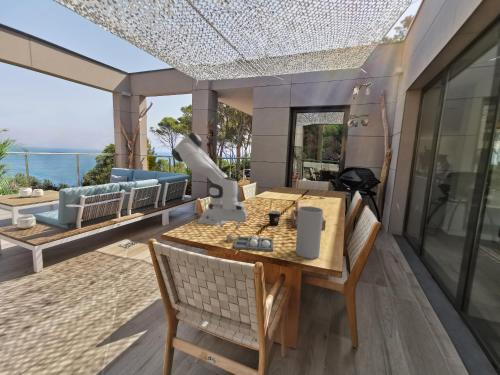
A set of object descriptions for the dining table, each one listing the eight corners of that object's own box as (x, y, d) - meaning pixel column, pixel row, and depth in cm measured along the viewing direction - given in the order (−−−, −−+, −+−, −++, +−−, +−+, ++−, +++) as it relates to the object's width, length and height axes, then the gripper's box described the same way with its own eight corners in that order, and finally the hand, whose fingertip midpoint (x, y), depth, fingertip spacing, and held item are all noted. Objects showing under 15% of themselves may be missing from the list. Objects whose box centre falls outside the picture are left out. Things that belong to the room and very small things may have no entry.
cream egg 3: (261, 249, 123) (261, 241, 123) (261, 245, 128) (262, 238, 127) (269, 249, 123) (270, 242, 122) (269, 246, 127) (270, 238, 127)
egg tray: (233, 249, 123) (233, 246, 123) (237, 239, 138) (237, 236, 138) (273, 252, 121) (273, 249, 121) (272, 241, 136) (272, 238, 136)
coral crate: (293, 228, 162) (294, 218, 161) (290, 218, 187) (291, 210, 186) (324, 230, 160) (325, 220, 159) (317, 219, 185) (318, 211, 184)
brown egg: (225, 243, 132) (225, 235, 131) (227, 240, 136) (227, 232, 135) (233, 243, 131) (233, 236, 131) (234, 240, 136) (234, 233, 135)
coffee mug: (279, 223, 172) (280, 211, 170) (279, 227, 163) (280, 214, 162) (264, 222, 173) (264, 210, 171) (263, 226, 164) (264, 213, 163)
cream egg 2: (249, 248, 124) (249, 240, 123) (249, 245, 128) (250, 237, 128) (257, 249, 123) (257, 241, 123) (257, 245, 128) (258, 238, 127)
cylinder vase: (323, 258, 116) (327, 212, 112) (300, 259, 114) (304, 212, 110) (312, 248, 128) (316, 206, 124) (292, 249, 126) (295, 206, 122)
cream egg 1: (250, 243, 131) (250, 236, 130) (250, 240, 135) (251, 233, 135) (258, 244, 130) (258, 236, 130) (258, 240, 135) (258, 233, 134)
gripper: (210, 205, 128) (210, 228, 130) (246, 207, 126) (245, 230, 128) (213, 203, 134) (213, 225, 136) (247, 205, 132) (246, 227, 134)
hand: (229, 228), depth 132 cm, fingers open, 8 cm apart
